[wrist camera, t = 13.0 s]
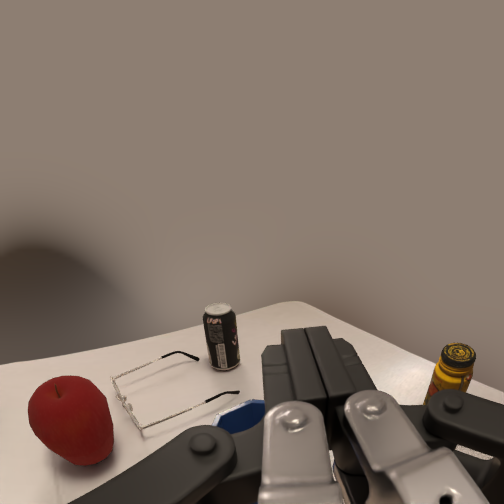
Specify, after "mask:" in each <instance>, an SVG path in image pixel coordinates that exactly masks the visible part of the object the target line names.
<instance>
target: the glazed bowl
mask: <svg viewBox="0 0 504 504" xmlns="http://www.w3.org/2000/svg"><path fill="white" fill-rule="evenodd" d="M264 414H265V403H264V400H255V399H252V401H251V400H248V401H246V402H244V403H241V404H239V405H237V406H235V407H232V408H230V409H228V410H225V411H223V412H220V413H218V415H216V417H215V419H214V421H213V423H212V426H217V427H220V428H222V429H224V430H226V431H227V432H229V433H230V434H234V433H238V432H241V431H245V430H247V429H250V428H252V427H253V426H255V425H256V424H258V423H259V422H260V421H261V419H262V418H263V416H264ZM252 504H258V502H255V503H252Z"/></svg>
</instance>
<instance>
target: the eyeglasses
mask: <svg viewBox="0 0 504 504" xmlns="http://www.w3.org/2000/svg"><path fill="white" fill-rule="evenodd" d="M175 353H182V354H184V355H186V356H188V357H190V358H192V359H194V360H196V361H199V358H198V357H195V356H193V355H190V354H187V353H184V352H181V351H175V352H172V353H169V354H166V355H164V356H161V357H160V358H159V359H162V358H165V357H167V356H170V355H172V354H175ZM159 359H157V360H159ZM157 360H154V361H157ZM154 361H152V362H154ZM152 362H149V363H147V364H144V365H142V366H139V367H137V368H135V369H132V370H130V371H128V372H125V373H123V374H120V375H118V376H115V377H113V378H112V376H111V377H110V379H111V381H112V384H113V386H114V388H115V390H116V392H117V395H118V398H120V399H118V398H117V395H116V398H117V399H118V400H120V401H121V402H122V405H123V407H125V409H126V410H127V412H128V414H129V415H130V417H131V418H132V420H133V421H134V422H135V424H136V425H137V427H138V428H139V429H140V430H142V429H145V428H148V427H150V426H153V425H155V424H158V423H160V422H163V421H165V420H168V419H170V418H173V417H175V416H177V415H180V414H182V413H184V412H187V411H189V410H191V409H192V408H195V407H197V406H199V405H201V404H205V403H208V402H210V401H212V400H214V399H216V398H218V397H220V396H221V395H224V394H239V392H240V391H227V392H223V393H220V394H218V395H216V396H214V397H212V398H210V399H208V400H205V401H204V402H202V403H201V404H199V405H197V406H194V407H191V408H189V409H186V410H184V411H182V412H179V413H177V414H174V415H172V416H169V417H167V418H164V419H162V420H159V421H156V422H154V423H151V424H148V425H143V426H142V425H141V424H139V422H138V421H137V419H136V418H135V416H134V415H133V413H132V412H131V411H133V409H132V405H131V404H130V403H129V404H128V405H126V404H125V401H126V396H125V397H124V396H123V395H121V393H120V391H119V389H118V387H117V385H116V383H115V379H117V378H119V377H121V376H123V375H126V374H128V373H130V372H133V371H135V370H137V369H140V368H142V367H144V366H146V365H149V364H151V363H152ZM114 384H115V385H114ZM115 386H116V387H115ZM116 388H117V389H116ZM117 390H118V391H117ZM118 392H119V393H118ZM122 396H123V398H122ZM123 399H124V400H123ZM128 407H129V408H128ZM130 413H131V414H130ZM132 416H133V417H132ZM134 419H135V420H134Z"/></svg>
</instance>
